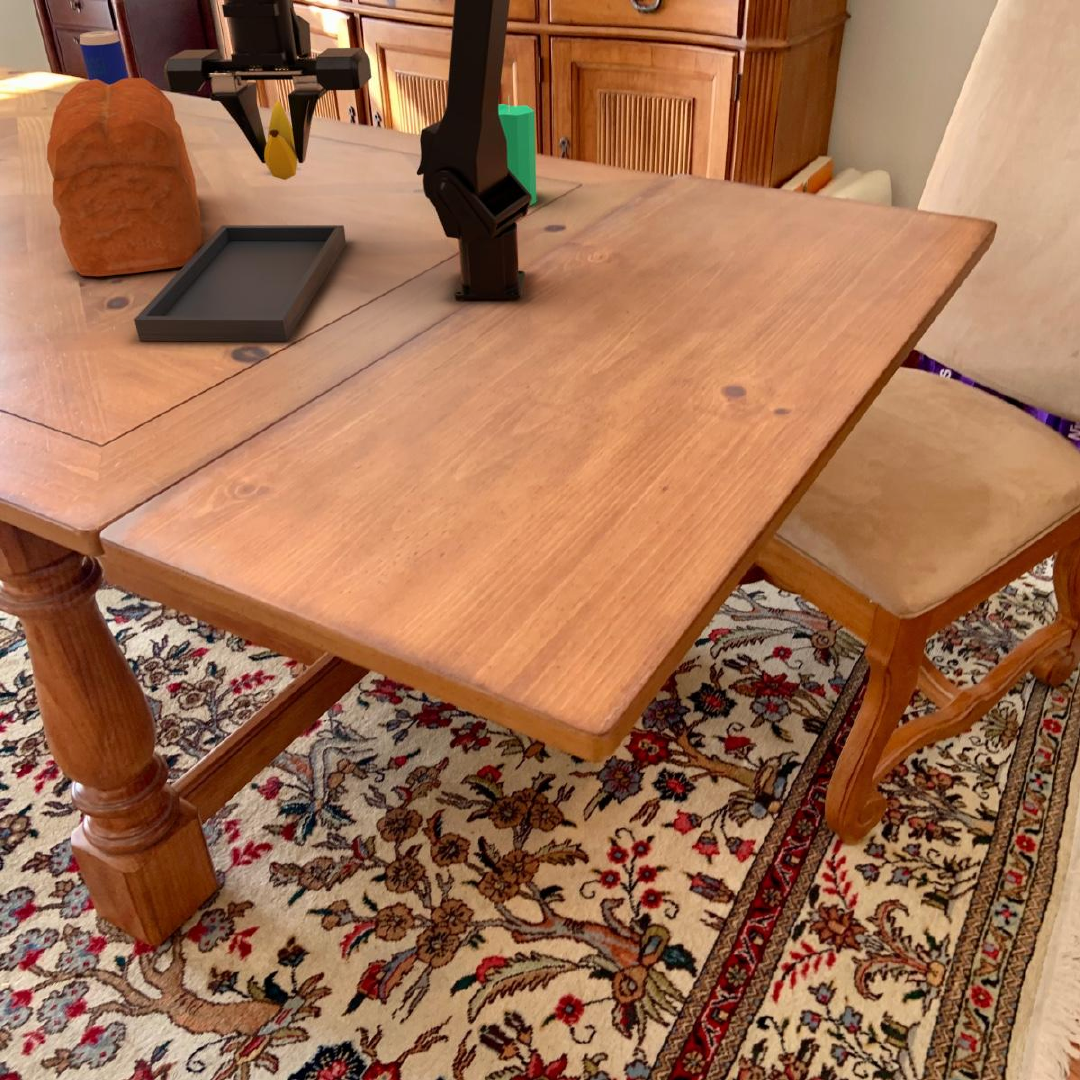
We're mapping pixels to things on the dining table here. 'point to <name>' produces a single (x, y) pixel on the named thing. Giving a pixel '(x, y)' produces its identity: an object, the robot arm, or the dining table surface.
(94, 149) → the bread
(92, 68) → the beverage can
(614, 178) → the dining table surface
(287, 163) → the banana
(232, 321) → the tray
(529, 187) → the candle
